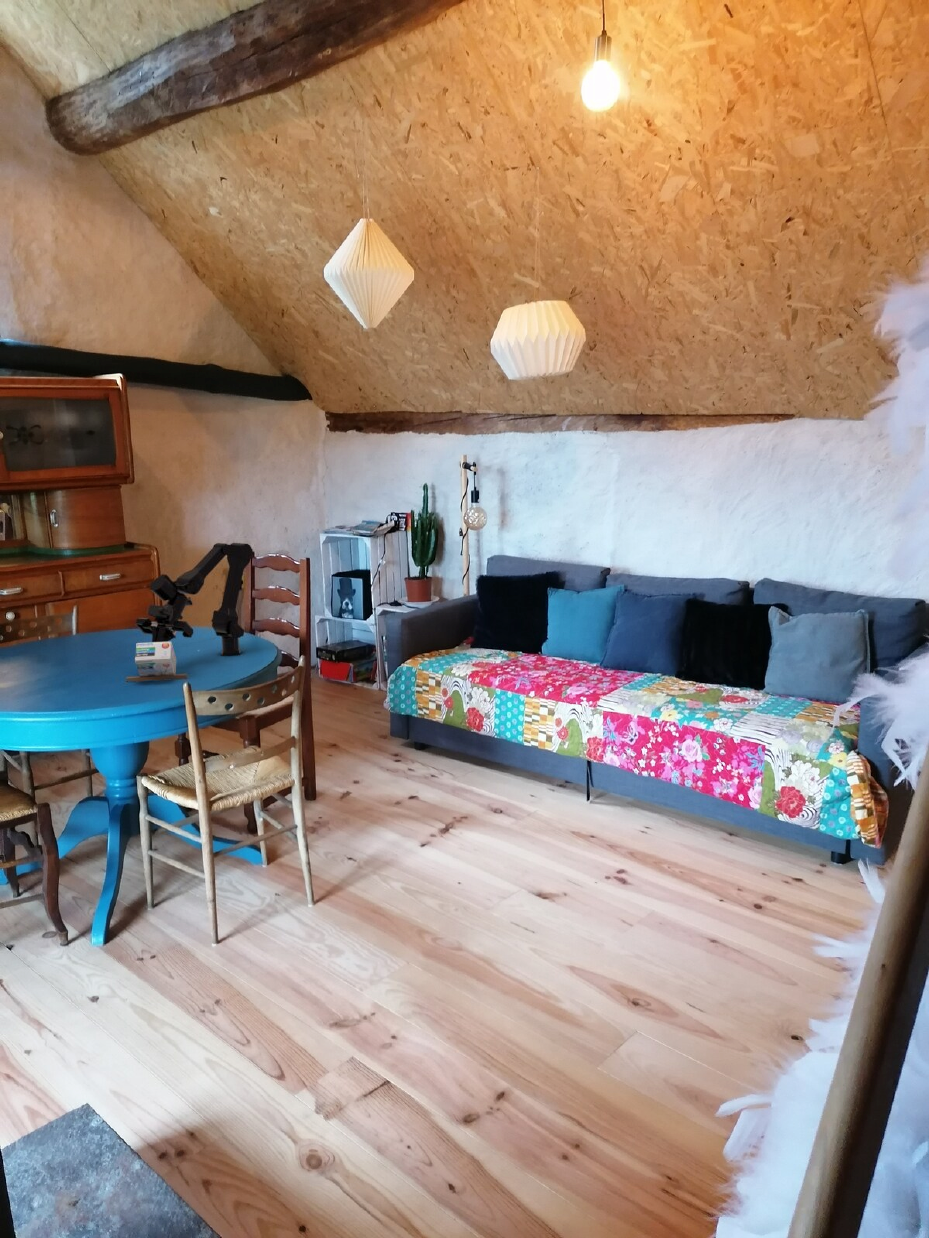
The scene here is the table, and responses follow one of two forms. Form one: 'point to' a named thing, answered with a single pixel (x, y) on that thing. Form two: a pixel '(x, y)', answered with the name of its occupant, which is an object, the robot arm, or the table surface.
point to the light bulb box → (155, 658)
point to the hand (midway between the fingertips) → (153, 649)
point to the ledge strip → (157, 677)
